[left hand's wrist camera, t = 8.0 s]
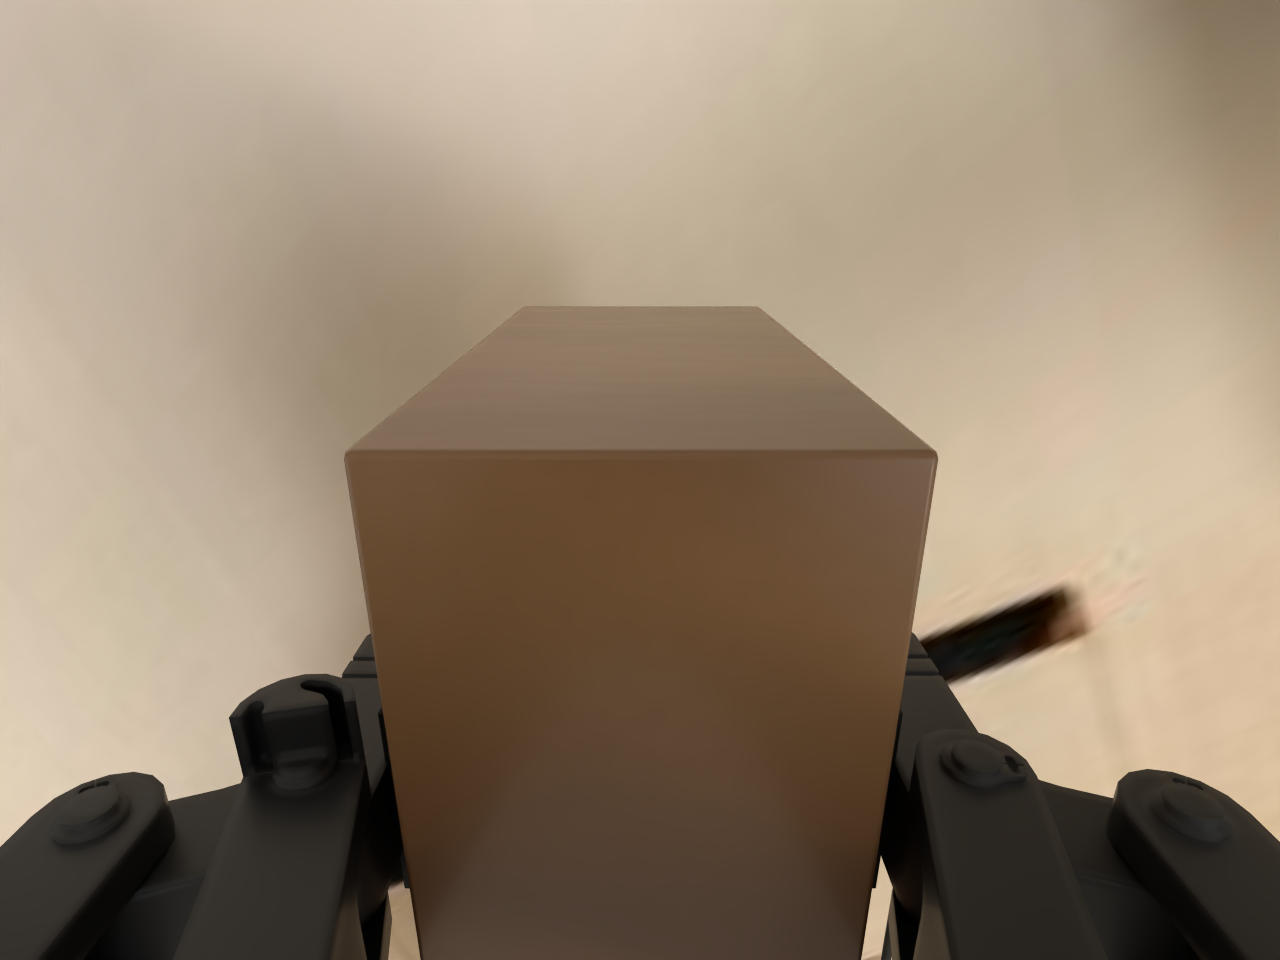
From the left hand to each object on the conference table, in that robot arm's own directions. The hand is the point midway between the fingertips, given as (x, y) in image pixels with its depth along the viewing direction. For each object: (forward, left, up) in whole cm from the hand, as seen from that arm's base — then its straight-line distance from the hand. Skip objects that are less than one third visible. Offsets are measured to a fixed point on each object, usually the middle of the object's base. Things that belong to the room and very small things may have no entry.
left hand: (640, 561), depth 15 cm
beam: (+29, +6, -1) cm, 29 cm away
